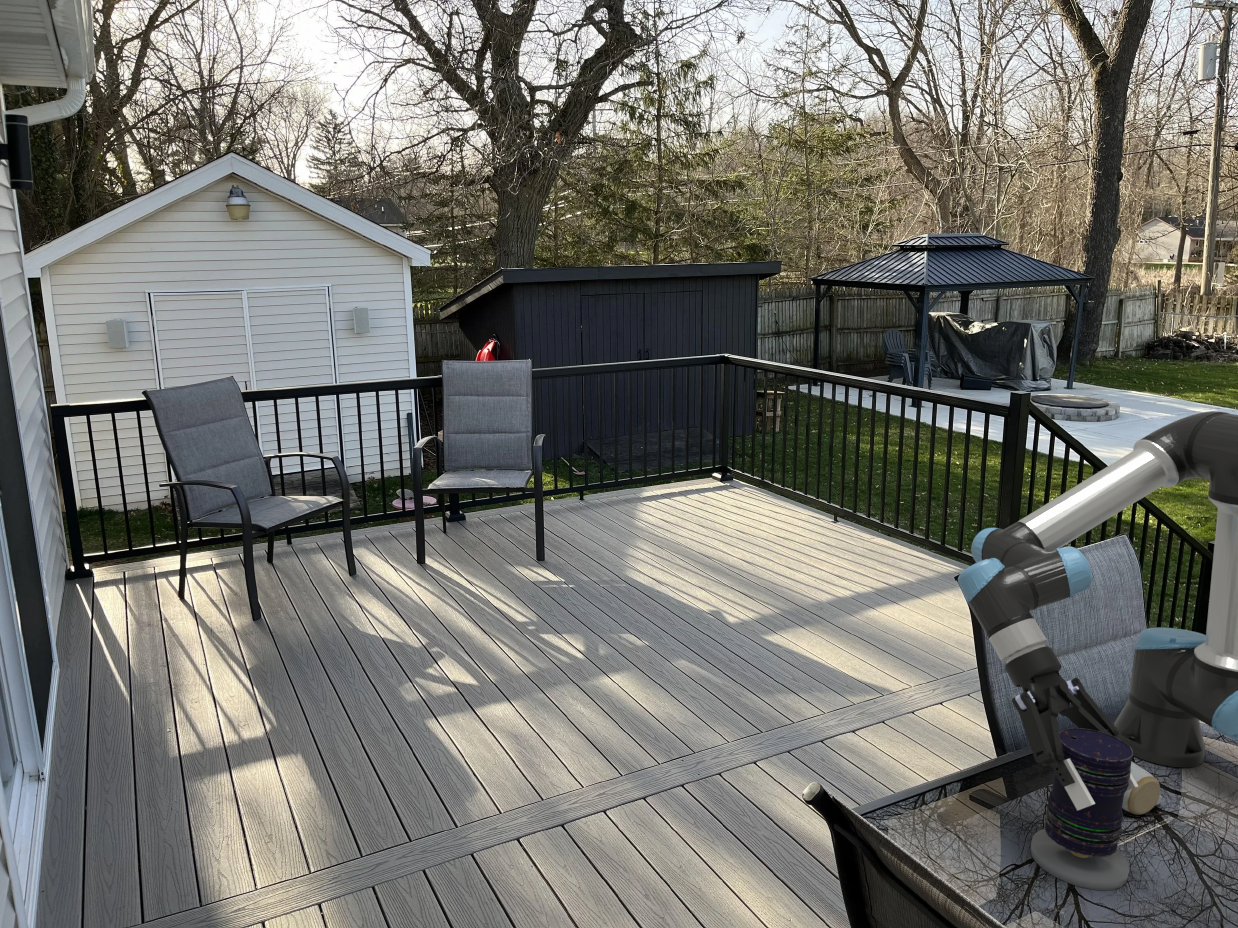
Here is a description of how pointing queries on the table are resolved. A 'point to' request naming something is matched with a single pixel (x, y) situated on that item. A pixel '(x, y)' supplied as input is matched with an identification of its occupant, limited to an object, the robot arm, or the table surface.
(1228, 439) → the robot arm
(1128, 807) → the ceramic mug
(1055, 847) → the grey flat round disc
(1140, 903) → the table surface
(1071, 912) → the table surface
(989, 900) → the table surface
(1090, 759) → the navy cylinder
